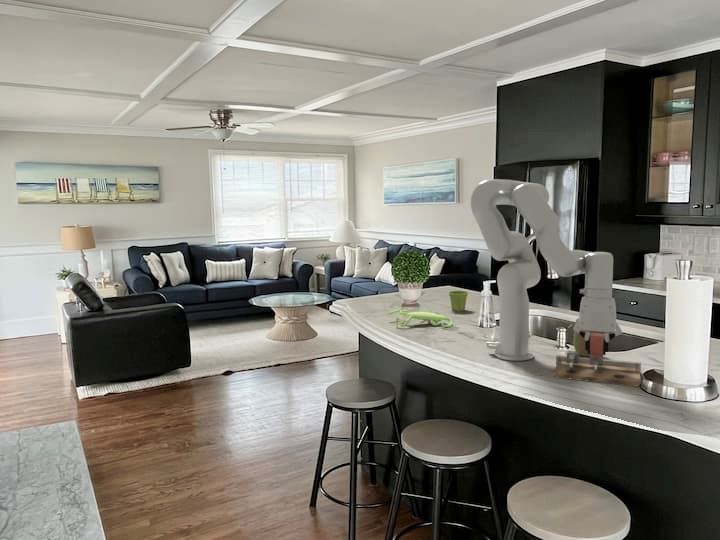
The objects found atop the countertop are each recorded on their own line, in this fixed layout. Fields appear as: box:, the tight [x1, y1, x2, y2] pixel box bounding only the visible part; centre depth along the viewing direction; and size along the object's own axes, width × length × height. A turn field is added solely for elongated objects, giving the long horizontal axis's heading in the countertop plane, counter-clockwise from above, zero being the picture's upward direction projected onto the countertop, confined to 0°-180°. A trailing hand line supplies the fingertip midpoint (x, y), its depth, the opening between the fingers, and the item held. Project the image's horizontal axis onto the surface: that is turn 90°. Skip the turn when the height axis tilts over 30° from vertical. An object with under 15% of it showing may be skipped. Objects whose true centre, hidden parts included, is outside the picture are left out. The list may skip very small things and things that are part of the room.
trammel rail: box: [555, 350, 642, 373], centre depth 167 cm, size 24×9×4 cm, turn 66°
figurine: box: [388, 308, 454, 329], centre depth 241 cm, size 18×27×6 cm
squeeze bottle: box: [572, 311, 599, 357], centre depth 187 cm, size 8×8×18 cm
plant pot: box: [448, 290, 469, 312], centre depth 267 cm, size 9×9×9 cm
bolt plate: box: [553, 362, 642, 386], centre depth 167 cm, size 23×14×1 cm, turn 66°
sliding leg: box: [589, 333, 605, 373], centre depth 167 cm, size 4×9×10 cm, turn 156°
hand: (596, 352), depth 169 cm, fingers closed on sliding leg, 3 cm apart
